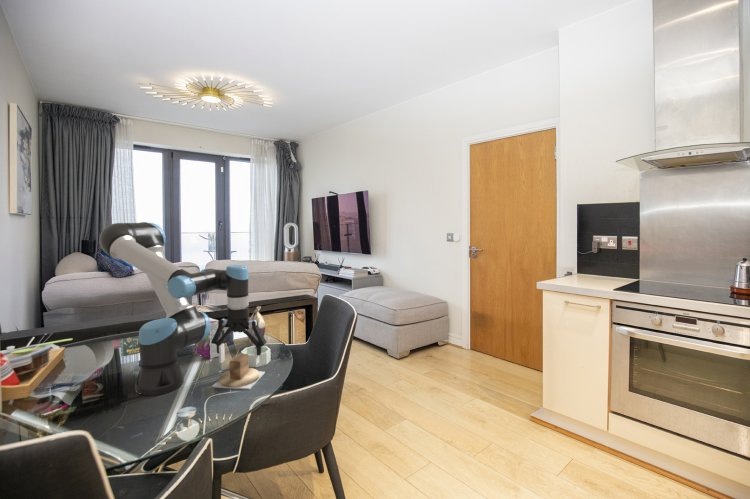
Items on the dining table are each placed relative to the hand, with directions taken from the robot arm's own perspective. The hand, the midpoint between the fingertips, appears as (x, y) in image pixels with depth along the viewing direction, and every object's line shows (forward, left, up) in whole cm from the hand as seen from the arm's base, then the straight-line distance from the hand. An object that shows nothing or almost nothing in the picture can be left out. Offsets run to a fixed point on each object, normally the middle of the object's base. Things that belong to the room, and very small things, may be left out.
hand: (239, 362), depth 136 cm
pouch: (-9, +36, -7) cm, 38 cm away
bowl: (-1, +17, -7) cm, 18 cm away
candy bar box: (-25, +21, -7) cm, 33 cm away
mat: (0, 0, -7) cm, 7 cm away
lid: (0, 0, -6) cm, 6 cm away
